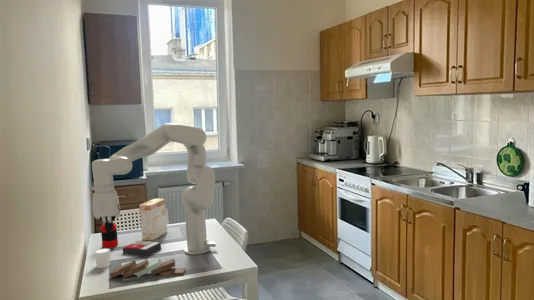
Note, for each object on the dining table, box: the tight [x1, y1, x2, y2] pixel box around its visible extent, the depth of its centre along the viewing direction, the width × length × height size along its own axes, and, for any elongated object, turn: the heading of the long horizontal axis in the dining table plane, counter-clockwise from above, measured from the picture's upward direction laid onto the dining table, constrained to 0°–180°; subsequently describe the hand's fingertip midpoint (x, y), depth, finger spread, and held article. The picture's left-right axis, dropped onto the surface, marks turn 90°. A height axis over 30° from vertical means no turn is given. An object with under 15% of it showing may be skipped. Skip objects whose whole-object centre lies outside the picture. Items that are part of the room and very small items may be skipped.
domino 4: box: [150, 258, 176, 276], centre depth 177 cm, size 2×5×10 cm
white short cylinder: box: [93, 248, 111, 269], centre depth 188 cm, size 7×7×7 cm
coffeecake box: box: [139, 198, 168, 241], centre depth 229 cm, size 15×7×20 cm, turn 162°
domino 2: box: [122, 259, 150, 279], centre depth 175 cm, size 2×5×10 cm
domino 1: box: [109, 260, 138, 279], centre depth 175 cm, size 2×5×10 cm
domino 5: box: [158, 267, 186, 277], centre depth 176 cm, size 2×5×10 cm
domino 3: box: [135, 258, 163, 278], centre depth 176 cm, size 2×5×10 cm
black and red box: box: [122, 240, 162, 257], centre depth 205 cm, size 11×4×15 cm
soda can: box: [100, 221, 119, 249], centre depth 215 cm, size 8×8×12 cm
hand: (109, 231), depth 175 cm, fingers closed
